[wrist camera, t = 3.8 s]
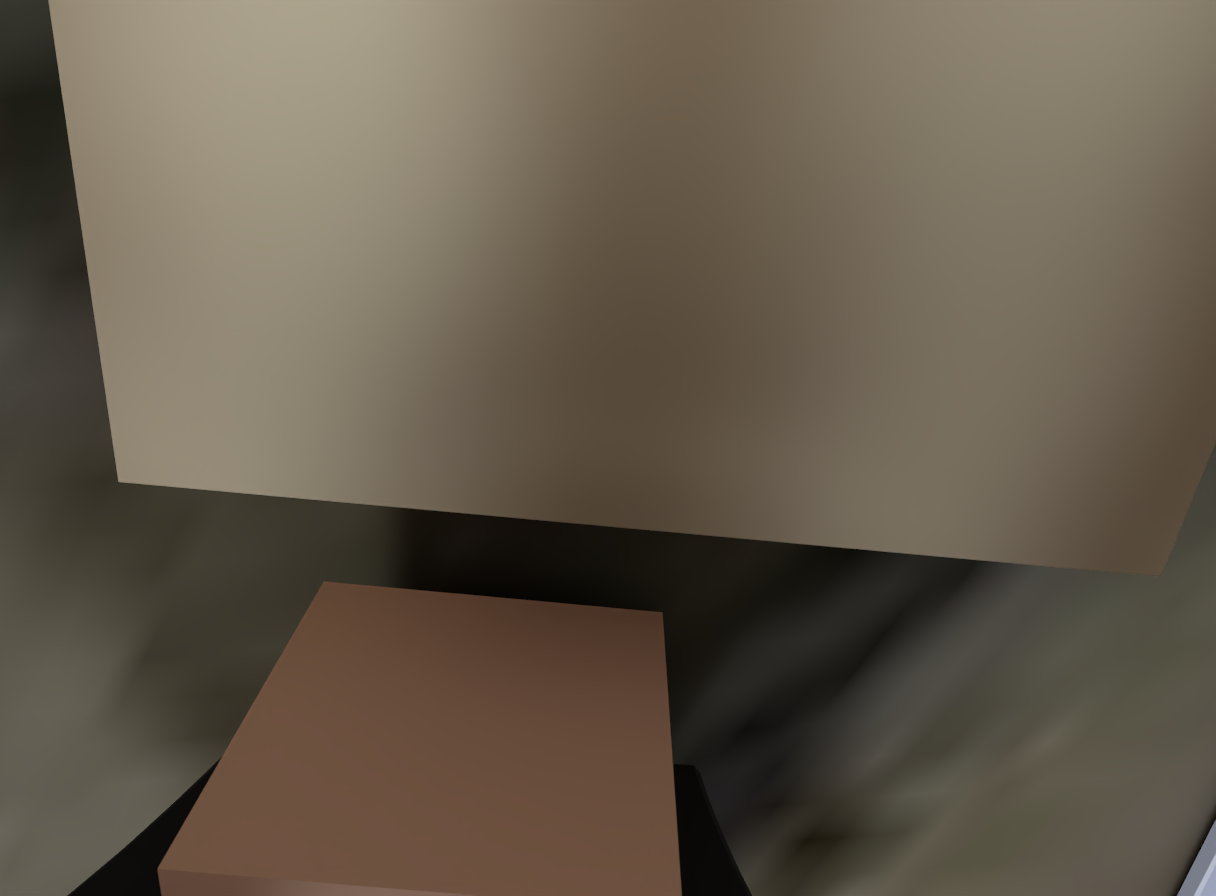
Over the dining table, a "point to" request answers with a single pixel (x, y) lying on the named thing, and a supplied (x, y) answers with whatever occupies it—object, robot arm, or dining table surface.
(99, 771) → the dining table surface
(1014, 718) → the dining table surface
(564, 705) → the terracotta cube
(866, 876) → the dining table surface
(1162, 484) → the birch base
